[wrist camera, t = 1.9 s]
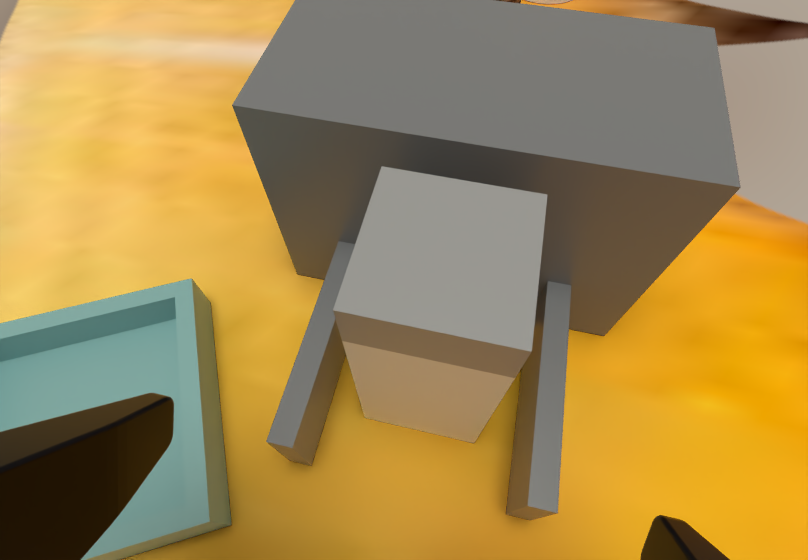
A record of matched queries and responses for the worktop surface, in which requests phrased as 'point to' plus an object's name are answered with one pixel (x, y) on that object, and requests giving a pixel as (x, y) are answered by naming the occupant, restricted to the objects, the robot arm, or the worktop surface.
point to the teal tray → (125, 378)
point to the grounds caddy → (440, 300)
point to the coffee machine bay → (490, 167)
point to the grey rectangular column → (549, 1)
